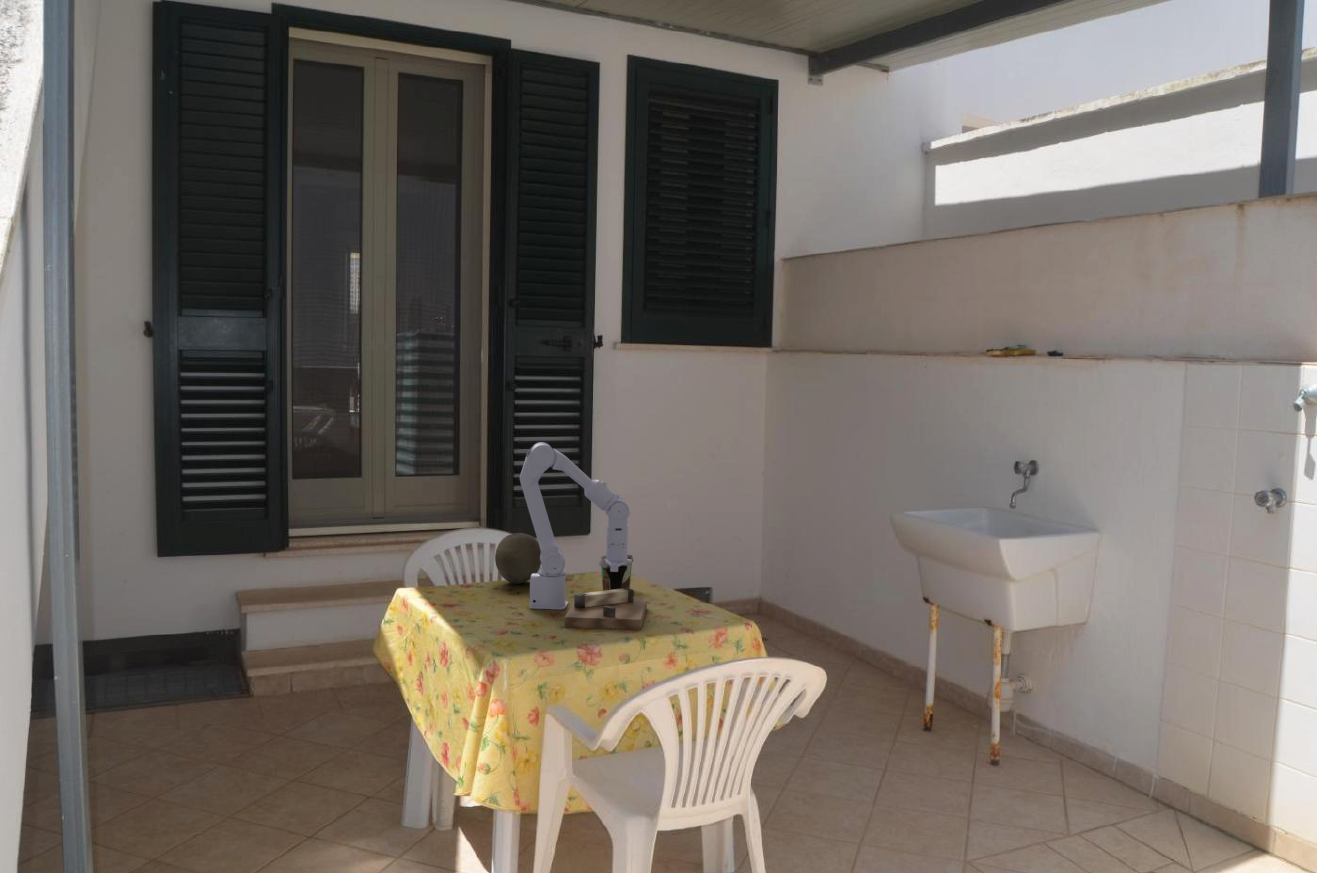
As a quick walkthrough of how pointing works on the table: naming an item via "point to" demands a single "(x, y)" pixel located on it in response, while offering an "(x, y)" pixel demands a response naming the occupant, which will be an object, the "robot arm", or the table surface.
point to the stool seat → (608, 615)
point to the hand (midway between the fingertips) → (616, 592)
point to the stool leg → (603, 597)
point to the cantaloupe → (518, 557)
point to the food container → (605, 576)
